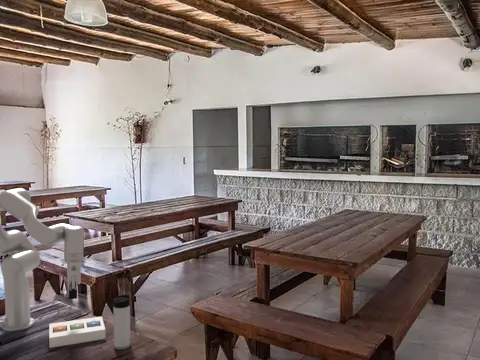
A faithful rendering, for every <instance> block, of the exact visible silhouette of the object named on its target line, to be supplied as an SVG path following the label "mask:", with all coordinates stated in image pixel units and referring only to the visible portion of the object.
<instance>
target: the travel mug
mask: <svg viewBox="0 0 480 360" xmlns="http://www.w3.org/2000/svg"><path fill="white" fill-rule="evenodd" d="M112 301H113V348H114V349H115V350H118V351H119V350H121V351H122V350H127V349H129V348H130V346H131V302H130V301H131V297H130V295H129V294H121V295H117V296H115V297H114V298H113V300H112Z"/></svg>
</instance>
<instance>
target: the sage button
mask: <svg viewBox="0 0 480 360" xmlns="http://www.w3.org/2000/svg"><path fill="white" fill-rule="evenodd" d="M82 328H83V324H82V323H76V324H73V325H71V330H75V329H82Z"/></svg>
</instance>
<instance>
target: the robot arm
mask: <svg viewBox="0 0 480 360" xmlns="http://www.w3.org/2000/svg"><path fill="white" fill-rule="evenodd" d="M31 200H32V197H31V194H30V193H29V191H28V190H27V189H25V188H21V187H19V188H18V187H17V188H13V189H7V190H3V191H0V212H4V211H5V212H7V213H8V214H10V215H11V216H13V217H14V218H16V219H17V220H18V221H20V222H22V223H23V226H24V229H25V231H26V233H27V234H28V235H29V237H31V238H32V239H33V240H35V241H37V242H38V243H40V244H42V245H45V246H49V247H50V246H53V245H57V244H58V243H61V242H63V243H64V246H63V248H64V249H63V260H64V262H66V264H67V265H66V275H67V276H66V277H67V283H68V284H67V285H69V288H68V299H69V300H76V299H78V287H77V285H80V284H81V282H82V281H81V279H82V277H81V275H82V271H81V270H82V269H81V268H82V267H81V266H82V264H81V263H82V262H81V261H83V260H84V248H85V247H84V245H85V244H84V243H85V240H84V239H85V236H84V235H85V230H84V227H82V226H80V225H71V224H67V223H63V222H62V223H60V222H59V223H57V224H53V225H51V226H47V225H45V224H44V223H43V222H42V221H40V220H39V219H38V218H37V216H38V214H39V211H40V210H39V207H38V206H37V205H36V204H33V202H31ZM12 253H13V254H12ZM9 254H10V255H9ZM6 255H8V256H6ZM1 256H6V257H5V258H4V259H3V260H2V262H1V264H0V271H1V275H2V278H3V285H4V286H3V287H4V288H3V289H4V304H5V305H4V306H5V307H4V309H5V311H4V312H5V316H2V317H0V325H1V329H2V330H3V331H5V332H6V331H7V332H17V331H23V330H26V329H29V328H31V327H32V326H34V324H35V319H34V318H33V317H31V299H30V297H31V296H30V295H31V294H30V284H29V283H30V282H29V279H28V278H27V276H26V273H29V272H31V271H33V270H34V269H36V268H38V266H39V265H40V264H41V256H40V253H39V251H37V249H36V248H35V246H34V244H33V243H32V242H31V240H30V239H29V238H28V236H27V235H26V234H25V233H24V232H23V231H21V230H17V229H11V230H7V231H6V229H4V228H3V226H2V224H0V257H1Z"/></svg>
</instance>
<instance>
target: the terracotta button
mask: <svg viewBox="0 0 480 360" xmlns="http://www.w3.org/2000/svg"><path fill="white" fill-rule="evenodd" d="M62 331H66V326H57V327H55V328H54V333H55V332H62Z"/></svg>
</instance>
